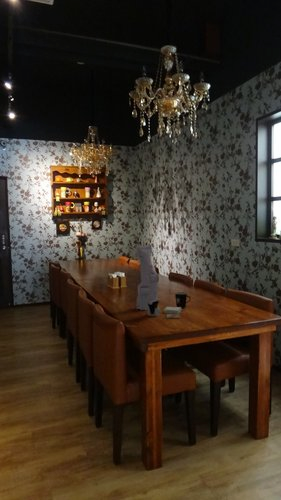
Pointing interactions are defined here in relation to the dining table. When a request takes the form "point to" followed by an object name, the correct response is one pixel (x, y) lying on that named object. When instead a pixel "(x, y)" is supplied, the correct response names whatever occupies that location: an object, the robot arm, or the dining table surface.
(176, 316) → the plate
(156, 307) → the block
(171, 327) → the dining table surface
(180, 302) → the coffee mug
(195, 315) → the dining table surface
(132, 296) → the dining table surface
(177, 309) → the grey green square tray
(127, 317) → the dining table surface
